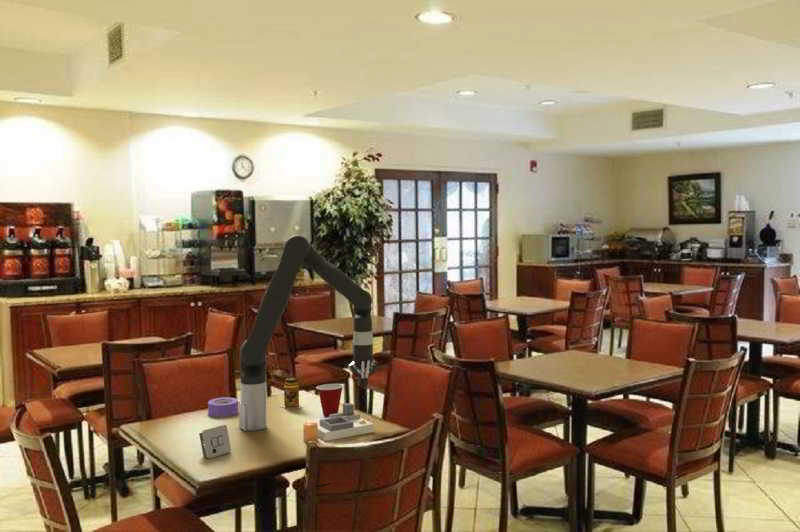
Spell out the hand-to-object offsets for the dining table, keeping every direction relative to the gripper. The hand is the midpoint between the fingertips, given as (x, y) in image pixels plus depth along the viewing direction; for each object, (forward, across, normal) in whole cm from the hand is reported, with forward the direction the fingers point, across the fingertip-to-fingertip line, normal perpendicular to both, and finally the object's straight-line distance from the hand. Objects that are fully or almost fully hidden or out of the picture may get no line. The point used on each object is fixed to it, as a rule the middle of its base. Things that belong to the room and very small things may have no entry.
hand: (363, 387), depth 261 cm
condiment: (+14, +14, -37) cm, 42 cm away
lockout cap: (+14, +27, +9) cm, 31 cm away
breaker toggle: (+10, +7, 0) cm, 12 cm away
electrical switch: (+14, +60, +5) cm, 61 cm away
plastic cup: (+14, +6, -17) cm, 23 cm away
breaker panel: (+14, +13, +4) cm, 19 cm away
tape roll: (+14, +41, -43) cm, 61 cm away
